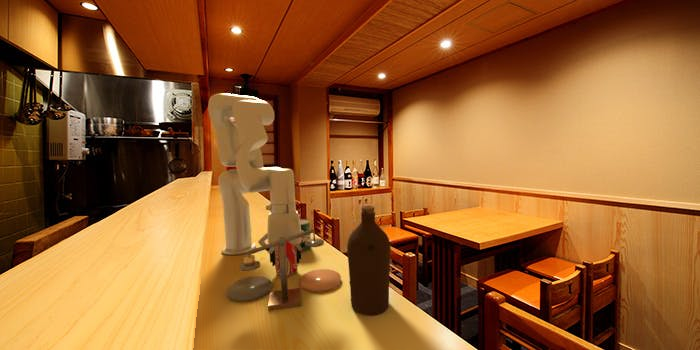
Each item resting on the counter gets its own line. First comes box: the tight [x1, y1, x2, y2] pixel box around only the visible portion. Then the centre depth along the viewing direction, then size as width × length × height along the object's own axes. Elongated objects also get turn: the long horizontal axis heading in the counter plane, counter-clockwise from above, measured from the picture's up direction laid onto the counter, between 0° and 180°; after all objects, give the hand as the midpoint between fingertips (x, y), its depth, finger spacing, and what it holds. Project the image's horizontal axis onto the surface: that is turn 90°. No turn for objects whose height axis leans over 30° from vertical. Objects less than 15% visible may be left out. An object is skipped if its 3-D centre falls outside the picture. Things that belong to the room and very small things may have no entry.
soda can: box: [274, 242, 299, 277], centre depth 90 cm, size 7×7×12 cm
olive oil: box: [346, 205, 391, 316], centre depth 69 cm, size 11×11×25 cm
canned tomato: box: [300, 218, 312, 253], centre depth 110 cm, size 8×8×11 cm
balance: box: [238, 228, 325, 311], centre depth 73 cm, size 7×21×19 cm, turn 101°
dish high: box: [299, 268, 342, 293], centre depth 83 cm, size 12×12×1 cm
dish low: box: [225, 276, 273, 303], centre depth 79 cm, size 12×12×1 cm
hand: (286, 262), depth 90 cm, fingers closed on soda can, 7 cm apart
